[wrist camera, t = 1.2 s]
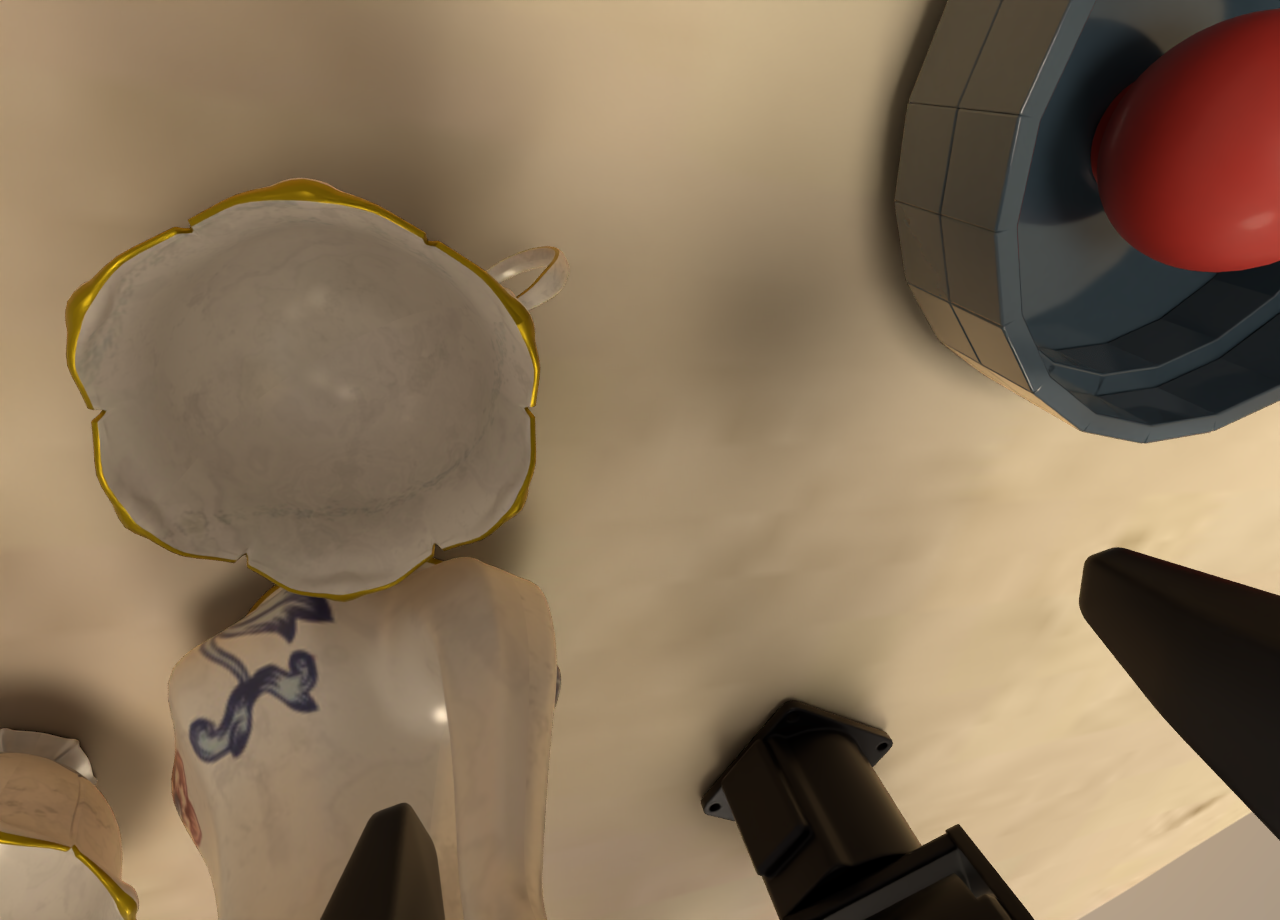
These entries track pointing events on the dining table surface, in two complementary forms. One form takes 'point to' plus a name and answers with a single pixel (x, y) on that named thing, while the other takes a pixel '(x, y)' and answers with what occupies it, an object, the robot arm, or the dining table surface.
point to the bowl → (1068, 226)
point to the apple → (1199, 150)
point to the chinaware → (315, 558)
